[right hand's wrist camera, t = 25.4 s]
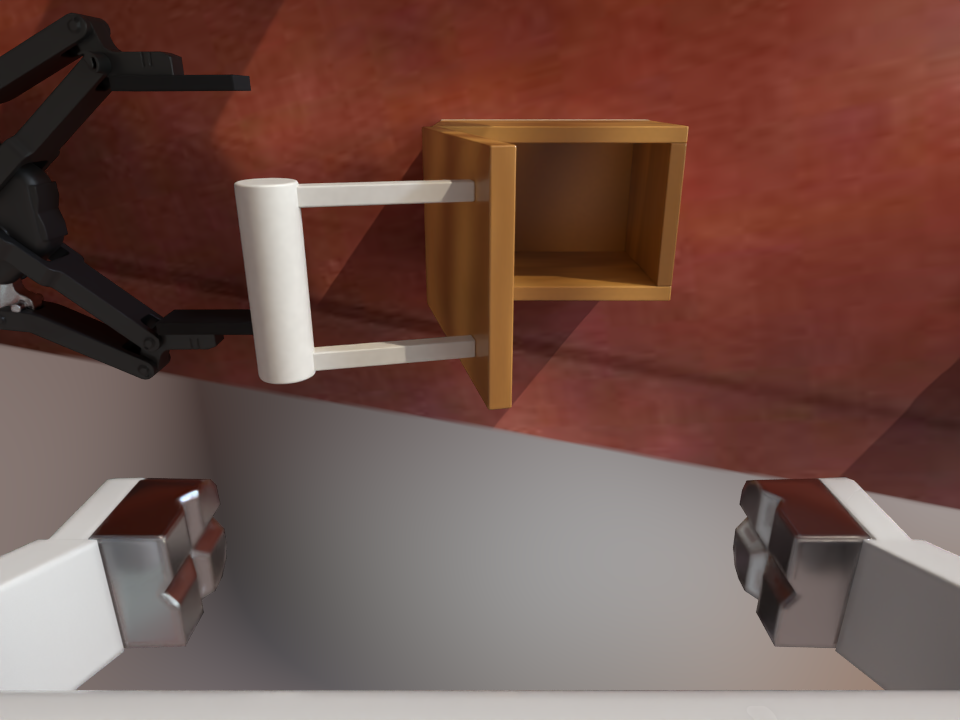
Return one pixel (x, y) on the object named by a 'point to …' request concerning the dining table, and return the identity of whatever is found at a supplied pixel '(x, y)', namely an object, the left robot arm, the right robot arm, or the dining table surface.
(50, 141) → the left robot arm
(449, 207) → the lid
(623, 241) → the chest
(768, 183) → the dining table surface
